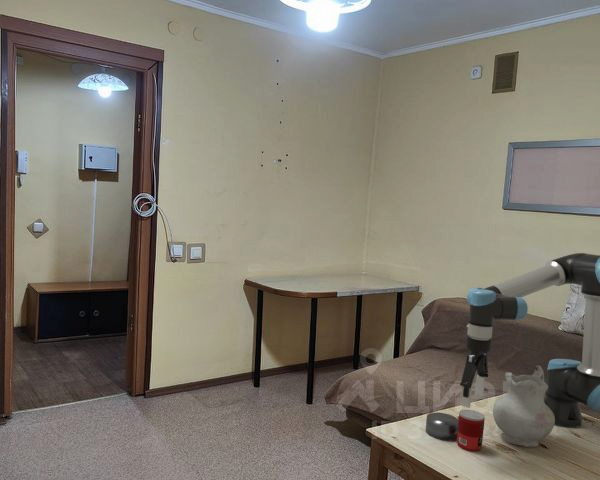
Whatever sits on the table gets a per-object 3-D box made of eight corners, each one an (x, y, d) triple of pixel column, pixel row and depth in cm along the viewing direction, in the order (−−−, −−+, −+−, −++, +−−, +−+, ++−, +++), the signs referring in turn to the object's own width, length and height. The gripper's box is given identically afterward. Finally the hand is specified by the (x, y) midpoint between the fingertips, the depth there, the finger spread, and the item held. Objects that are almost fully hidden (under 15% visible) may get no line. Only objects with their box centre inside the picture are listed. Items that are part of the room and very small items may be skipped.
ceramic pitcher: (502, 423, 193) (503, 357, 192) (560, 436, 182) (561, 366, 181) (486, 444, 175) (486, 371, 174) (548, 459, 164) (549, 382, 163)
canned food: (483, 453, 166) (486, 420, 165) (457, 449, 168) (460, 416, 167) (480, 442, 174) (483, 411, 173) (455, 439, 175) (458, 407, 174)
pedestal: (462, 432, 180) (464, 419, 180) (451, 443, 171) (452, 429, 171) (432, 423, 187) (433, 409, 186) (420, 433, 178) (421, 419, 178)
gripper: (479, 328, 180) (473, 388, 181) (454, 341, 160) (447, 407, 161) (501, 333, 175) (495, 394, 177) (478, 346, 155) (471, 415, 157)
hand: (472, 400), depth 169 cm, fingers open, 13 cm apart
